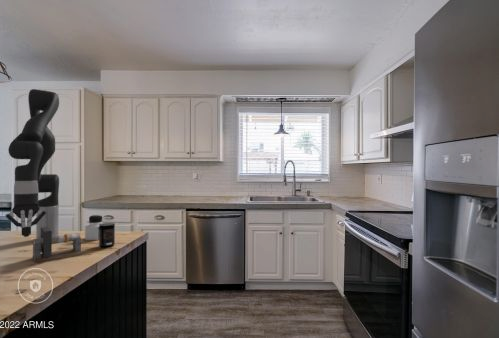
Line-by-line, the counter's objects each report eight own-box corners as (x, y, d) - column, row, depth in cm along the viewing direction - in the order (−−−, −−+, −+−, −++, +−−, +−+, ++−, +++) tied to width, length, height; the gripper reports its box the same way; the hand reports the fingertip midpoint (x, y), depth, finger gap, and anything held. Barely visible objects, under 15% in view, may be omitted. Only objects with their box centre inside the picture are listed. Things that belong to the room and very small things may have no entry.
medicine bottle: (98, 240, 145) (98, 216, 145) (84, 240, 145) (84, 216, 145) (105, 236, 152) (106, 214, 152) (92, 236, 152) (92, 214, 152)
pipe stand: (32, 258, 116) (32, 236, 116) (77, 250, 127) (77, 231, 127) (34, 263, 110) (35, 240, 110) (81, 254, 121) (81, 234, 121)
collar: (40, 251, 119) (40, 227, 119) (47, 250, 121) (47, 226, 120) (44, 257, 112) (44, 231, 112) (51, 255, 113) (51, 230, 113)
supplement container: (110, 243, 139) (110, 222, 139) (117, 246, 135) (117, 224, 135) (96, 246, 134) (96, 224, 134) (102, 249, 130) (102, 226, 130)
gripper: (45, 190, 119) (45, 232, 119) (3, 192, 110) (3, 237, 110) (48, 192, 113) (48, 235, 113) (4, 194, 104) (4, 241, 104)
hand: (26, 236), depth 112 cm, fingers closed
